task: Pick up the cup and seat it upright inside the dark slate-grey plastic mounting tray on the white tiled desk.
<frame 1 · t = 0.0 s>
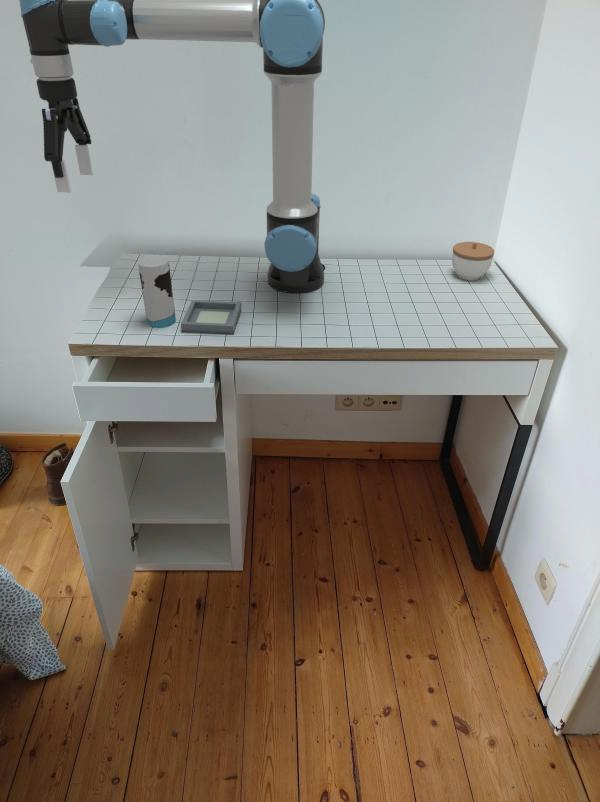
hand: (76, 183, 137), 28 cm above the table, fingers open, 13 cm apart
lidded jar: (468, 276, 166), on the table
cup: (161, 321, 143), on the table
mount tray: (212, 321, 143), on the table
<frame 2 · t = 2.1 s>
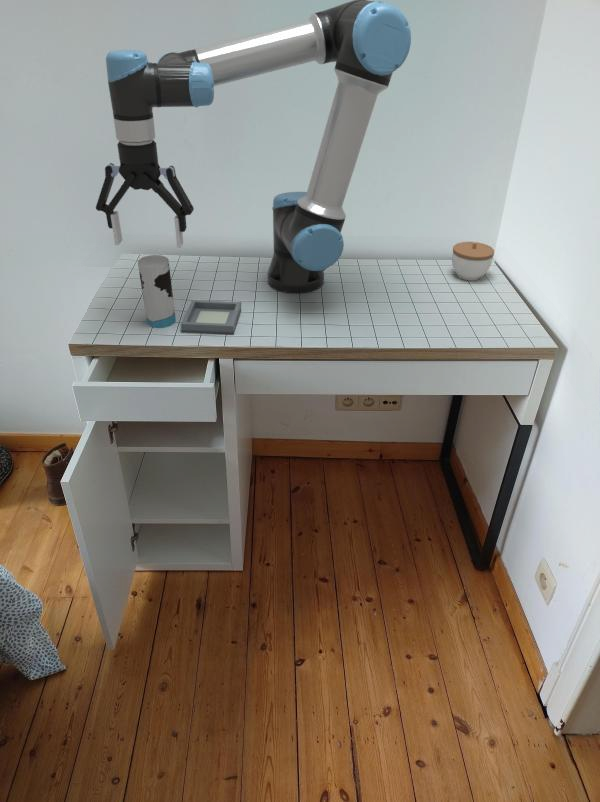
hand: (149, 244, 132), 19 cm above the table, fingers open, 13 cm apart
nothing on the table moved.
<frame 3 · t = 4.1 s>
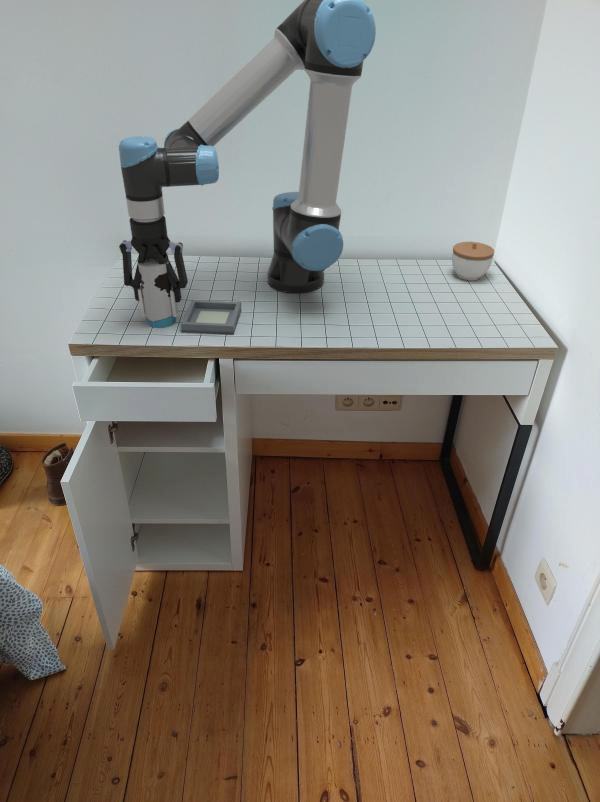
hand: (160, 313, 142), 2 cm above the table, fingers closed on cup, 7 cm apart
cup: (161, 321, 143), on the table, touching gripper
everything else where it was.
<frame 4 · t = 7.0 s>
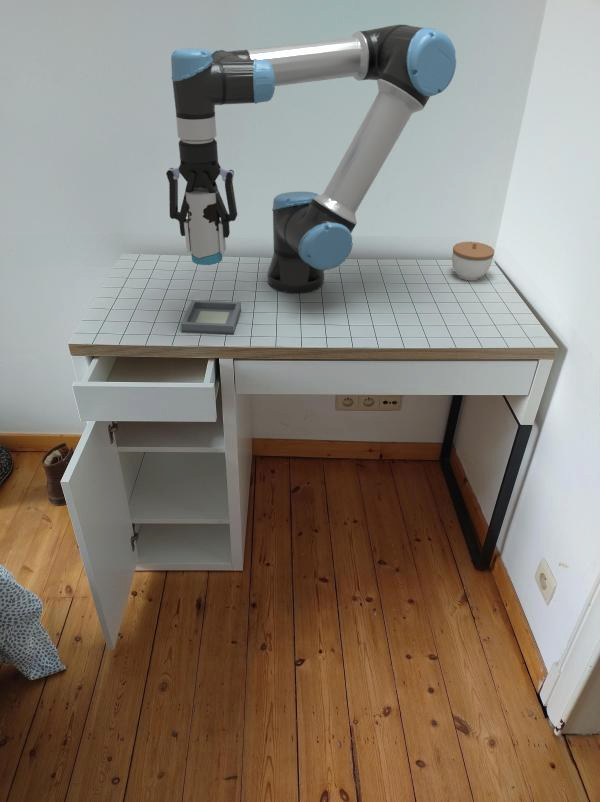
hand: (206, 250, 133), 18 cm above the table, fingers closed on cup, 7 cm apart
cup: (207, 259, 134), point 15 cm above the table, touching gripper
everything else where it was.
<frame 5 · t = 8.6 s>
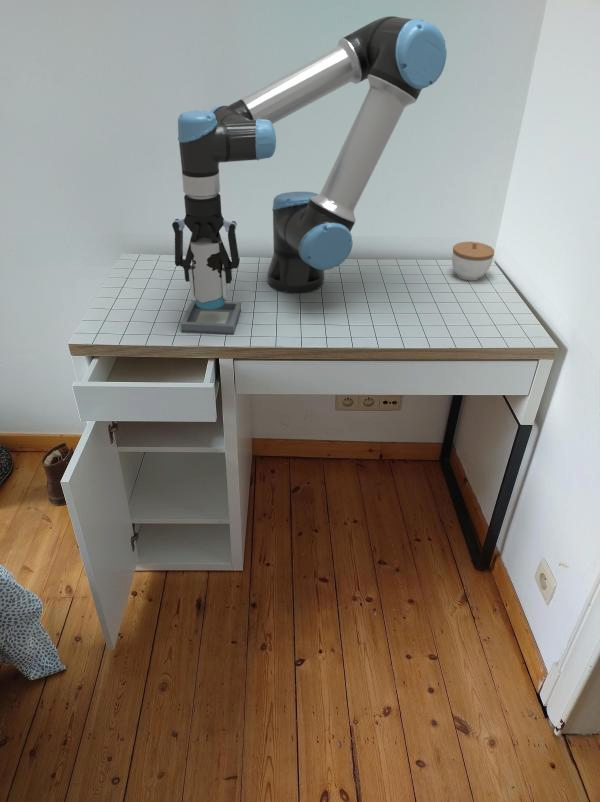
hand: (209, 294, 139), 7 cm above the table, fingers closed on cup, 7 cm apart
cup: (210, 303, 141), point 5 cm above the table, touching gripper
everything else where it was.
when the fingers open (4 cm above the table, at t = 9.7 s): cup drops 1 cm, resting on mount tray.
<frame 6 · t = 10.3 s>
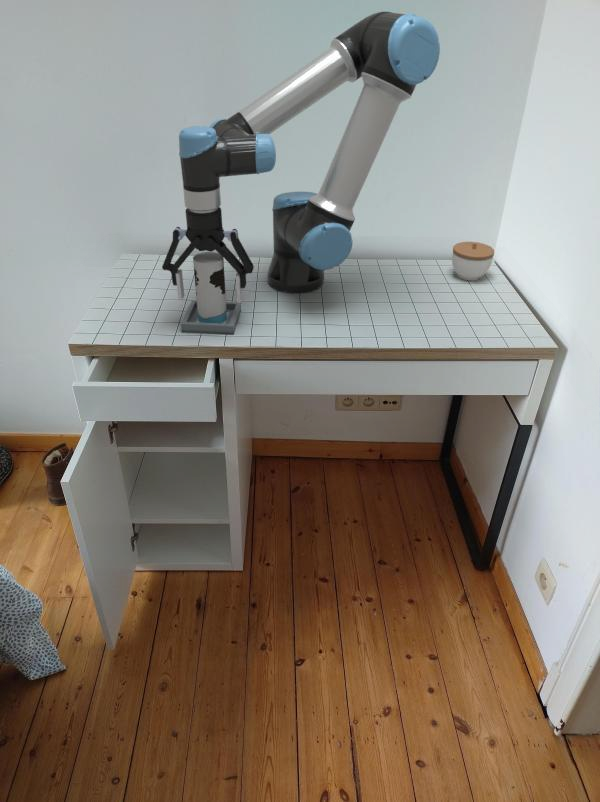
hand: (210, 299, 140), 6 cm above the table, fingers open, 13 cm apart
cup: (212, 319, 143), point 1 cm above the table, touching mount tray
everything else where it was.
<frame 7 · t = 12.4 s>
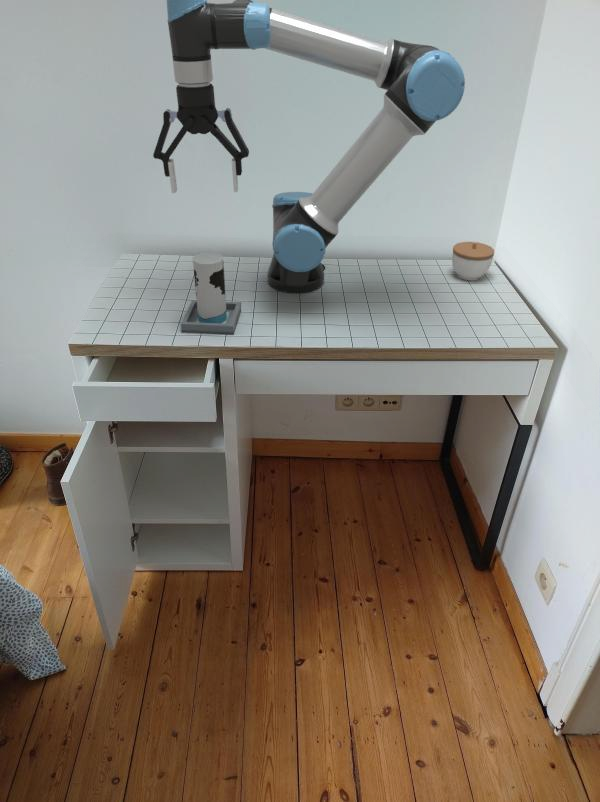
hand: (205, 191, 134), 28 cm above the table, fingers open, 13 cm apart
nothing on the table moved.
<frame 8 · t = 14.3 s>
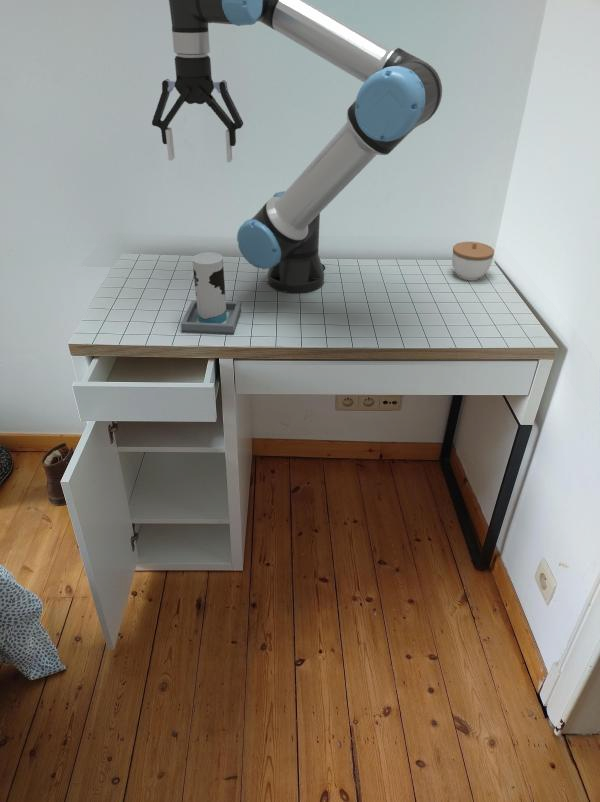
hand: (200, 159, 141), 32 cm above the table, fingers open, 13 cm apart
nothing on the table moved.
at the end: cup inside the target area on the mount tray (0.1 cm from its centre), point 0.5 cm above the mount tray's base; cup tilted 0°; cup touching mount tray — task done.
